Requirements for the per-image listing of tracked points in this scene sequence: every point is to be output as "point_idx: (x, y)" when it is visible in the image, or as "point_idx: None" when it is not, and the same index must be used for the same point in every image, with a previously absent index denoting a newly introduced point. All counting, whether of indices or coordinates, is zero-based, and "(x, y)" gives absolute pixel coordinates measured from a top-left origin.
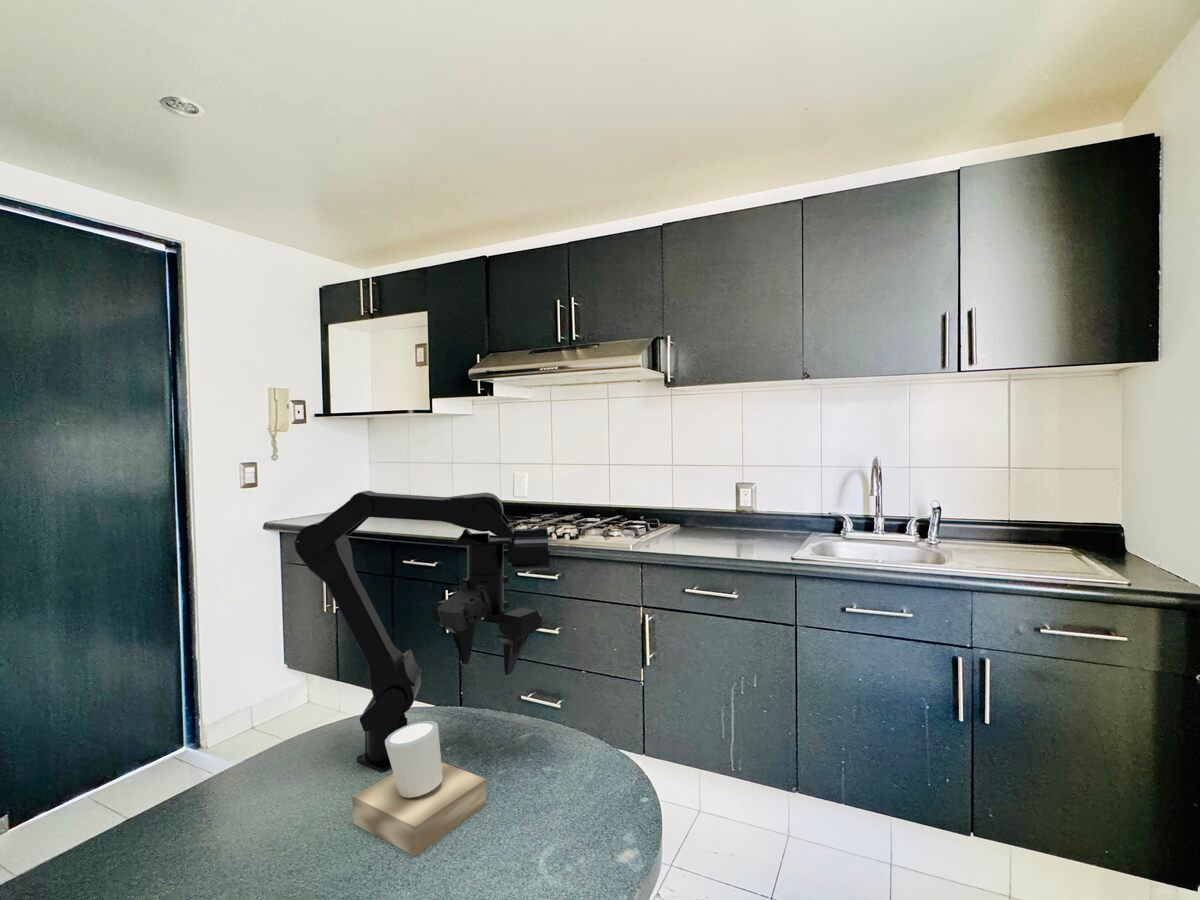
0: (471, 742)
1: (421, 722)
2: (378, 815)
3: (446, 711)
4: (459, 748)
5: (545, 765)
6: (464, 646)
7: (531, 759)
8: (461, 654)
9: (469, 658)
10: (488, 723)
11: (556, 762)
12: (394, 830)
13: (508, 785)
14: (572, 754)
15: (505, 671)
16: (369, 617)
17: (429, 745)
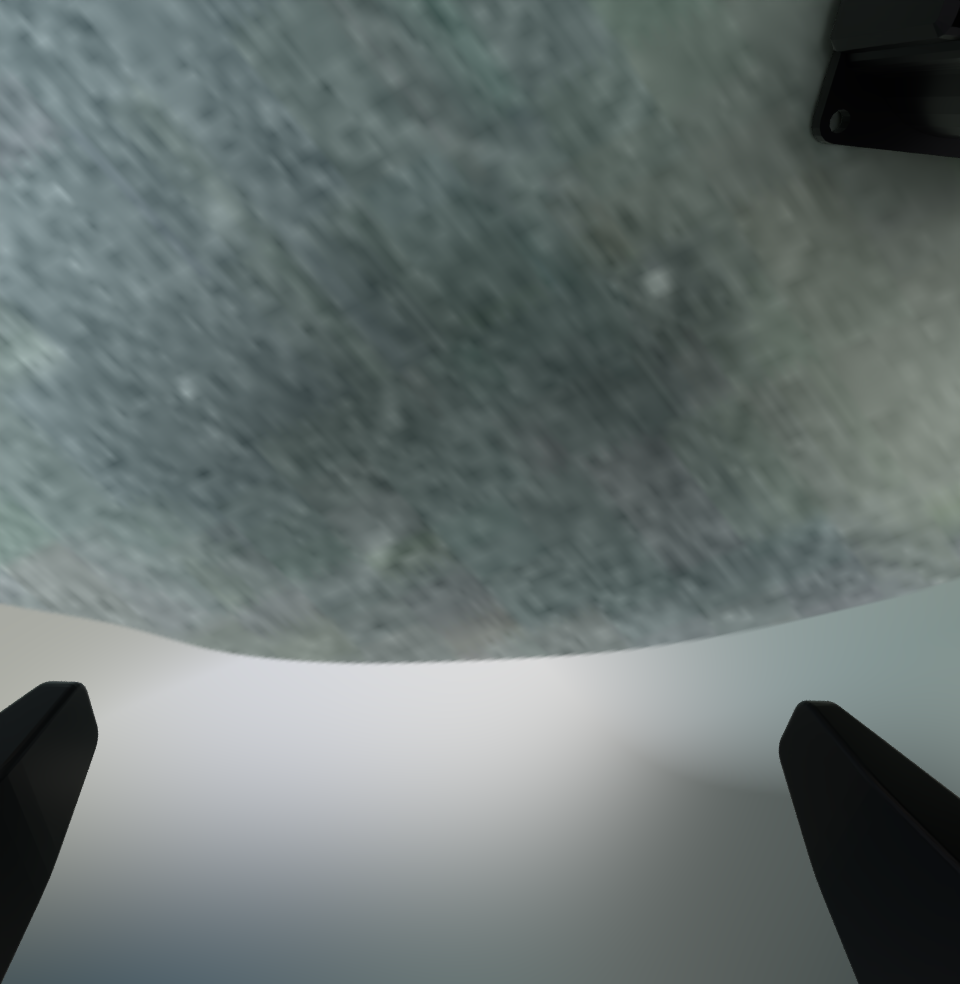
0: (576, 391)
1: None
2: None
3: (875, 568)
4: (599, 313)
5: (73, 376)
6: (955, 953)
7: (179, 392)
8: (914, 801)
9: (794, 800)
10: (609, 565)
11: (52, 423)
12: None
13: (66, 102)
14: (51, 513)
15: (40, 713)
16: None
17: None
